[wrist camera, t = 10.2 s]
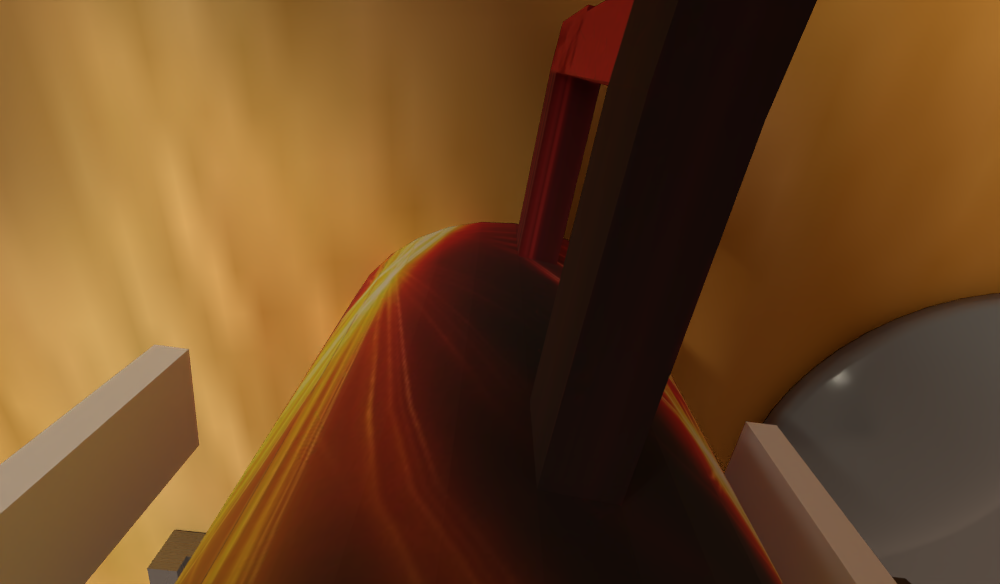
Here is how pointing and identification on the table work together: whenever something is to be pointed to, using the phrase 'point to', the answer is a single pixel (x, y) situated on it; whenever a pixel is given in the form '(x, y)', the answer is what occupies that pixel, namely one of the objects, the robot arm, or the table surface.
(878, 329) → the coaster
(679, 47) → the mug
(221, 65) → the table surface
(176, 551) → the rail
